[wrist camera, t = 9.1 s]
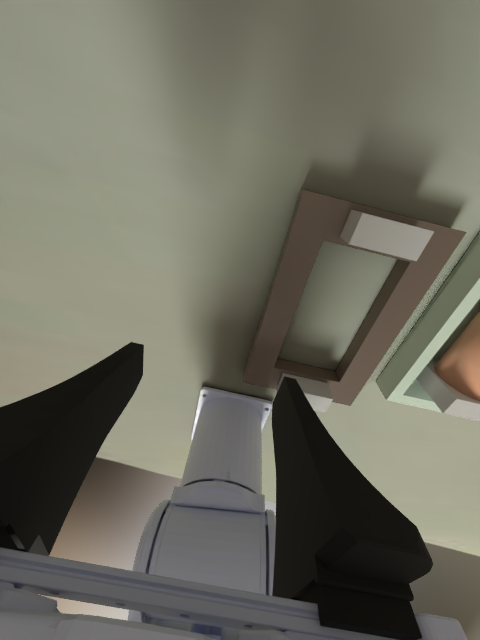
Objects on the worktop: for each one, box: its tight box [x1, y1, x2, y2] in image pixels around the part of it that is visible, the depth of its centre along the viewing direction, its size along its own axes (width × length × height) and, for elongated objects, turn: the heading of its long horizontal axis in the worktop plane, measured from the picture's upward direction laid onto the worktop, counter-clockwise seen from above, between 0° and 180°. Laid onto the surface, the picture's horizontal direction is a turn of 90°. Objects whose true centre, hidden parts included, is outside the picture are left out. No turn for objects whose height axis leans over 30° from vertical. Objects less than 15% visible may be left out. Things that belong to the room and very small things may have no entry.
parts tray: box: [376, 232, 480, 412], centre depth 20 cm, size 15×9×2 cm, turn 167°
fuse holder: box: [243, 189, 466, 413], centre depth 20 cm, size 17×11×4 cm, turn 167°
